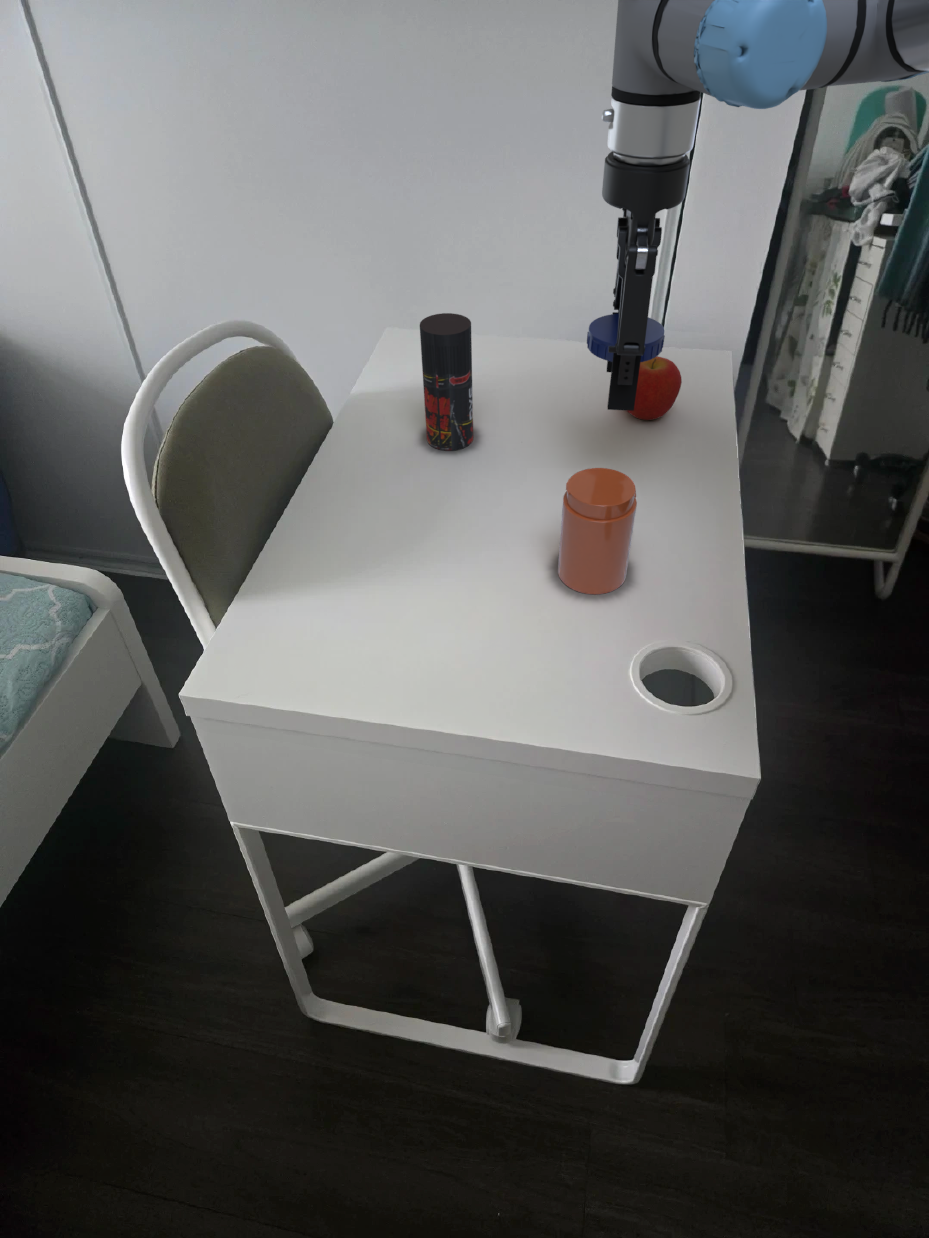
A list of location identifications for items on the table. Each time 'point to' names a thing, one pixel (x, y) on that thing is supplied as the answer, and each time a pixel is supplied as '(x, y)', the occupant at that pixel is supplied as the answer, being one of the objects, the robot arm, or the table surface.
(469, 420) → the deodorant
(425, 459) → the table surface
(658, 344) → the jar lid
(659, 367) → the apple
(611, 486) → the jam jar
